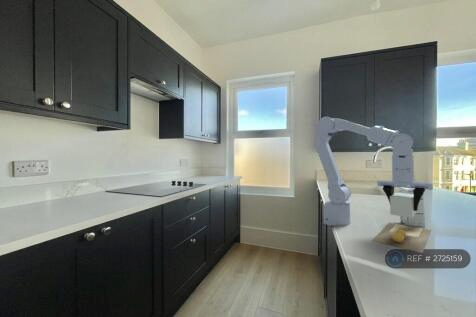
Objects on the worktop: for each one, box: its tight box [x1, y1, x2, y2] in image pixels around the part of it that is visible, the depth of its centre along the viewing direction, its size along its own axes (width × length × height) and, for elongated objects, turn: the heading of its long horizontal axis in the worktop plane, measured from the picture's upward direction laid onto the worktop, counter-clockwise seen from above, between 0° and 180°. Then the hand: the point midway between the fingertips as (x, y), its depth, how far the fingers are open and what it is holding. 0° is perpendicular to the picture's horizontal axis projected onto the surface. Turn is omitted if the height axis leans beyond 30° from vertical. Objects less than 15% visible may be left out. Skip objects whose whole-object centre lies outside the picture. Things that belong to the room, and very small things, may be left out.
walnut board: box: [371, 222, 432, 254], centre depth 68 cm, size 12×24×1 cm, turn 132°
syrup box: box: [398, 187, 426, 228], centre depth 81 cm, size 6×6×14 cm
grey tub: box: [389, 192, 417, 218], centre depth 69 cm, size 6×9×6 cm, turn 132°
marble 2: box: [392, 232, 404, 243], centre depth 63 cm, size 3×3×3 cm
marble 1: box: [395, 229, 406, 238], centre depth 65 cm, size 3×3×3 cm
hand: (403, 208), depth 69 cm, fingers closed on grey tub, 6 cm apart
